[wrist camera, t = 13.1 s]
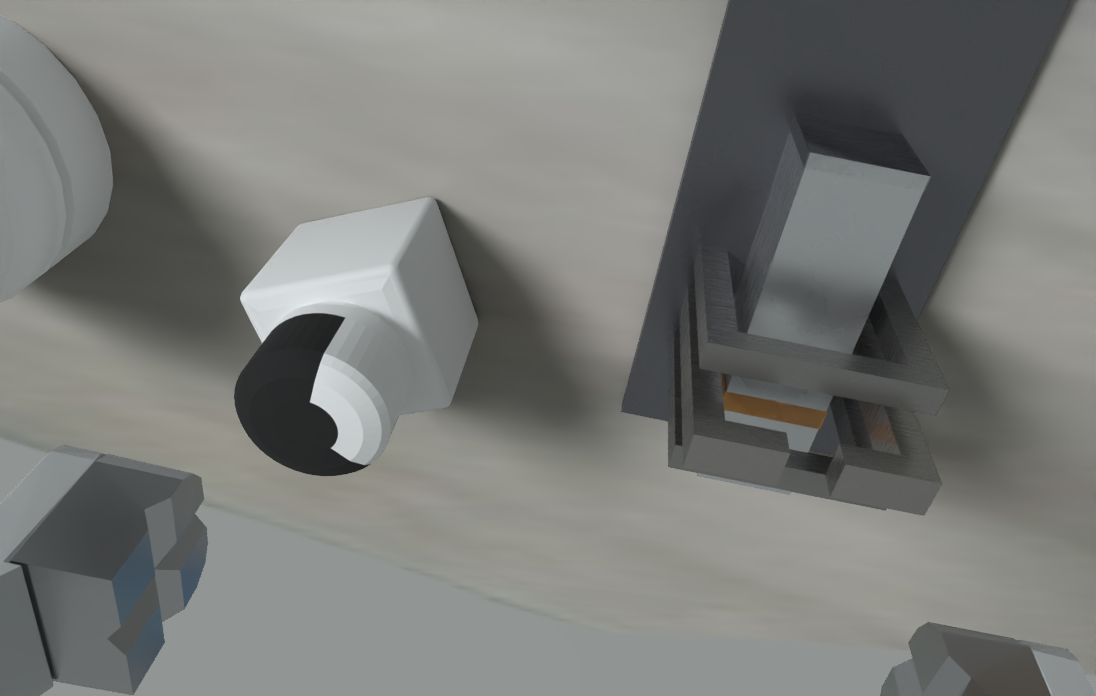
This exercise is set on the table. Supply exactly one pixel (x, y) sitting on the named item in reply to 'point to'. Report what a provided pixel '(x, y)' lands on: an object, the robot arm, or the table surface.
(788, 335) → the orange-striped grey block
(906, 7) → the rail
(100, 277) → the table surface
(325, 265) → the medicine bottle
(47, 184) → the honey pot
